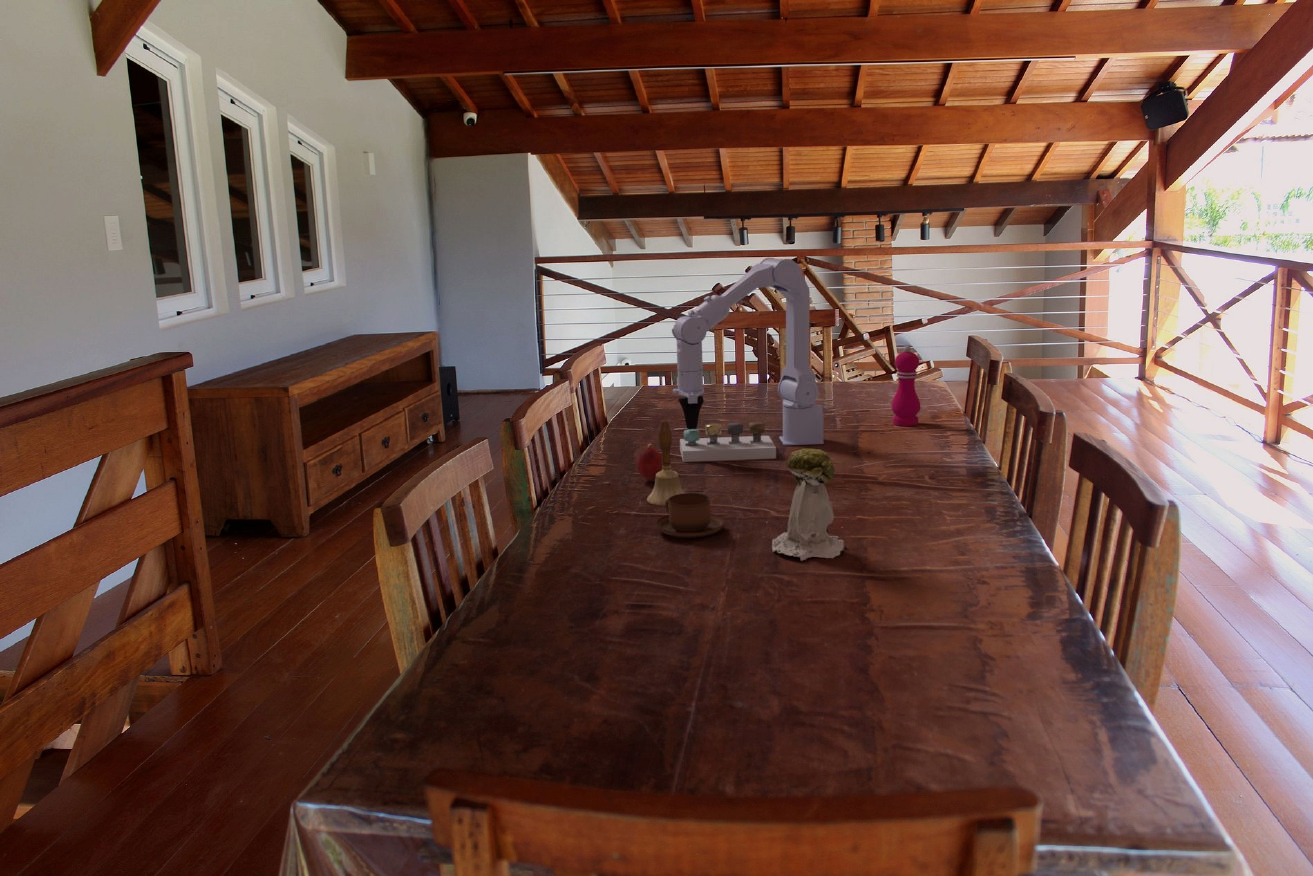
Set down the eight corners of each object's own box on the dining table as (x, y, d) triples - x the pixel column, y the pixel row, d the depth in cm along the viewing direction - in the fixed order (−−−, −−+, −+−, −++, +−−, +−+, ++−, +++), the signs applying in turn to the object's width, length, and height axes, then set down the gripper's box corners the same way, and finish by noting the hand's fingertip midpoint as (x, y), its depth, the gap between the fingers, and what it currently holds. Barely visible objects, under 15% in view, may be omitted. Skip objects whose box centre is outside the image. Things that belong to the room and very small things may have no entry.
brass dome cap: (720, 440, 232) (720, 423, 231) (722, 444, 229) (721, 426, 228) (705, 441, 232) (704, 423, 231) (706, 445, 229) (706, 427, 228)
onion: (661, 485, 207) (660, 447, 205) (634, 484, 208) (633, 447, 206) (667, 477, 213) (665, 441, 211) (640, 477, 214) (639, 440, 212)
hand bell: (672, 508, 191) (670, 426, 188) (638, 502, 196) (635, 422, 193) (697, 497, 198) (695, 418, 194) (663, 491, 203) (661, 414, 199)
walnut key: (763, 439, 233) (763, 421, 232) (765, 442, 229) (765, 424, 228) (748, 439, 232) (748, 422, 232) (750, 443, 229) (749, 425, 228)
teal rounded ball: (699, 446, 233) (698, 429, 232) (700, 450, 229) (700, 432, 228) (683, 447, 232) (683, 429, 232) (684, 451, 229) (684, 433, 228)
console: (768, 445, 237) (768, 435, 237) (776, 458, 226) (775, 447, 225) (680, 449, 237) (679, 439, 236) (682, 462, 225) (682, 451, 225)
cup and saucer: (644, 538, 175) (643, 504, 174) (675, 518, 185) (674, 486, 184) (706, 547, 170) (705, 512, 168) (734, 526, 180) (734, 493, 179)
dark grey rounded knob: (742, 439, 232) (742, 422, 232) (744, 443, 229) (743, 425, 228) (726, 440, 232) (726, 422, 231) (728, 444, 229) (728, 426, 228)
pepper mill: (917, 420, 259) (919, 343, 254) (922, 426, 252) (924, 347, 247) (889, 420, 259) (890, 344, 255) (892, 427, 252) (894, 348, 248)
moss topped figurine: (763, 541, 171) (762, 444, 167) (829, 535, 173) (830, 439, 169) (783, 563, 160) (782, 460, 156) (854, 556, 162) (855, 454, 158)
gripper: (671, 365, 234) (672, 422, 237) (673, 375, 219) (675, 436, 223) (701, 364, 234) (702, 421, 237) (706, 374, 220) (707, 435, 223)
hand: (691, 428), depth 230 cm, fingers closed
